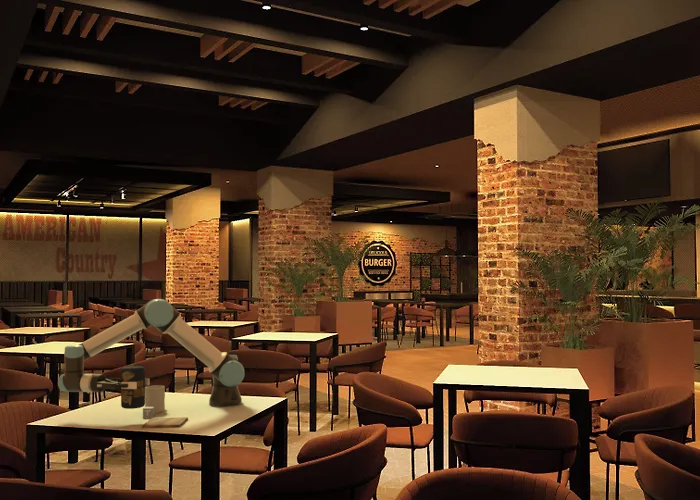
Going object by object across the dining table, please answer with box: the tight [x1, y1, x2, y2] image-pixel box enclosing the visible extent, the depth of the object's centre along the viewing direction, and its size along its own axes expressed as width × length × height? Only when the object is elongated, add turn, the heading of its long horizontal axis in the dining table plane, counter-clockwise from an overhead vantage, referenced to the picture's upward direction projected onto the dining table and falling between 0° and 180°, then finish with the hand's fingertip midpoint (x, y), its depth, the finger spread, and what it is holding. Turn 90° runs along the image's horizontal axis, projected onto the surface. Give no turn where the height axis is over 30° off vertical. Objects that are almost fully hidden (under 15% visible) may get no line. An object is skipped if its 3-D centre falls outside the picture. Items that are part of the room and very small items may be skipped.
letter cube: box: [142, 406, 156, 419], centre depth 288 cm, size 4×4×4 cm
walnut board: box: [141, 416, 189, 429], centre depth 273 cm, size 15×15×1 cm
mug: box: [144, 384, 166, 414], centre depth 302 cm, size 12×8×11 cm
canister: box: [120, 363, 146, 410], centre depth 276 cm, size 10×10×18 cm
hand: (142, 383), depth 275 cm, fingers closed on canister, 9 cm apart
